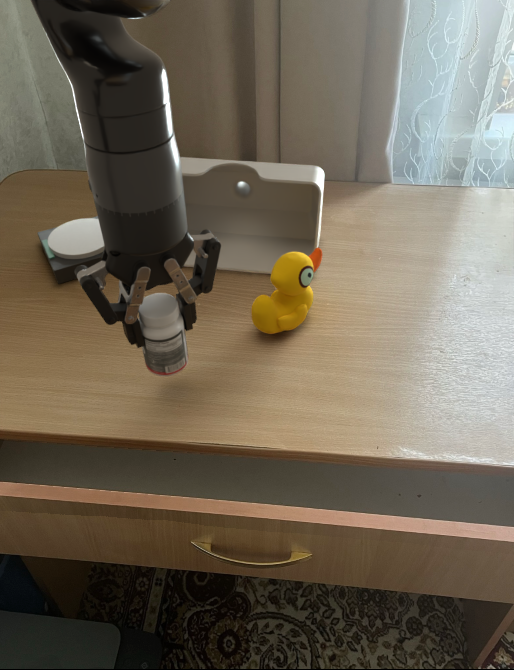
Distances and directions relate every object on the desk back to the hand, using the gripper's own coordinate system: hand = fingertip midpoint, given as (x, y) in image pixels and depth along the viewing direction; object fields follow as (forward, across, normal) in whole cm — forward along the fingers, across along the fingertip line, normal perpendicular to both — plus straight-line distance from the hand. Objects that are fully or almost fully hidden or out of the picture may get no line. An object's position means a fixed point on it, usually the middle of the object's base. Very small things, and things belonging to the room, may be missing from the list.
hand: (162, 333), depth 58 cm
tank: (+9, +21, +24) cm, 33 cm away
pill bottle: (+5, 0, 0) cm, 5 cm away
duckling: (+9, +18, +4) cm, 20 cm away
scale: (+9, -1, +32) cm, 33 cm away
